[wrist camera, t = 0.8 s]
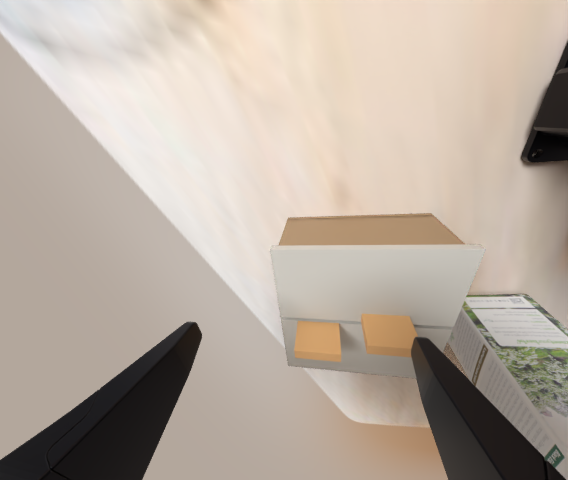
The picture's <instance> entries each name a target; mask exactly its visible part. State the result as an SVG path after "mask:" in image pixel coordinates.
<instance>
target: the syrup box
mask: <svg viewBox="0 0 568 480" xmlns="http://www.w3.org/2000/svg"><path fill="white" fill-rule="evenodd" d="M451 328H452V332H451V335H450V337H449V339H448V344H449V345H450V347H451V349H452V351H453V352H454V354H455V356H456V357H457V359H458V361H459V362H460V364H461V366H462V368H463V369H464V371H465V373H466V375H467V376H468V378H469V380H470V381H471V382H472V383H473V384H474V385H475V386H476V387H477V389H478V390H479V391H480V392H481V393H482V394H483V395H484V396H485V397H486V398H487V399H488V400H489V401H490V402H491V403H492V404H493V405H494V406H495V407H496V408H497V409H498V410H499V411H500V412H501V413H502V414H503V415H504V416H505V417H506V418H507V419H508V420H509V421H510V422H511V423H512V424H513V425H514V427H515V428H516V429H517V430H518V431H519V432H520V433H521V434H522V435H523V436H524V437H525V438H526V439H527V440H528V441H529V442H530V443H531V444H532V445H533V446H534V447H535V448H536V449H537V450H538V451H539V452H540V453H541V454H542V455H543V456H544V458H545V460H547V461H549V462H550V463H551V464H552V465H553V466H554V467H555V468H556V469H557V470H558V472H559V473H560V474H561V475H562V476H563V477H564V478H565V479H566V480H568V329H567V328H566V327H564V326H563V325H562V324H561V323H560V322H559V321H557V320H556V319H555V318H554V317H553V316H552V315H550V314H549V313H548V312H547V311H546V310H545V309H543V308H542V307H541V306H540V305H539V304H538V303H537V302H535V301H534V300H533V299H532V298H531V297H530V296H528V295H527V294H512V295H467V296H466V299H465V301H464V303H463V306H462V308H461V311H460V313H459V315H458V318H457V320H456V323H455V325H454V327H451Z"/></svg>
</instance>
